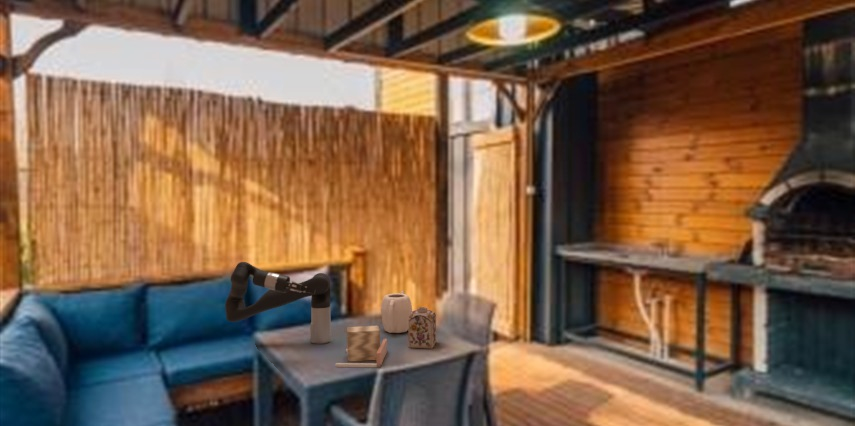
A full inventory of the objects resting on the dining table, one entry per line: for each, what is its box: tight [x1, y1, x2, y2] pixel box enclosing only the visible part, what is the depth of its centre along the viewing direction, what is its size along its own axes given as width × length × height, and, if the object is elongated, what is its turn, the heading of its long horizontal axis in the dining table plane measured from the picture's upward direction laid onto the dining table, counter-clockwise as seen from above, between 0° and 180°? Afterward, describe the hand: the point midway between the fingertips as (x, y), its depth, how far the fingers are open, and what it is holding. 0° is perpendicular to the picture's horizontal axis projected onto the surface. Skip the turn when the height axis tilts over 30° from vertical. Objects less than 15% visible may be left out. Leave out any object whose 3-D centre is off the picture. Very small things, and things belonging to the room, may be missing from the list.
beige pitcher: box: [380, 290, 413, 334], centre depth 320 cm, size 16×27×19 cm, turn 168°
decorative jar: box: [407, 306, 437, 349], centre depth 291 cm, size 12×12×18 cm
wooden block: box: [346, 325, 381, 363], centre depth 273 cm, size 14×9×13 cm, turn 100°
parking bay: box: [335, 338, 388, 368], centre depth 271 cm, size 19×23×6 cm
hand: (314, 291), depth 271 cm, fingers closed
